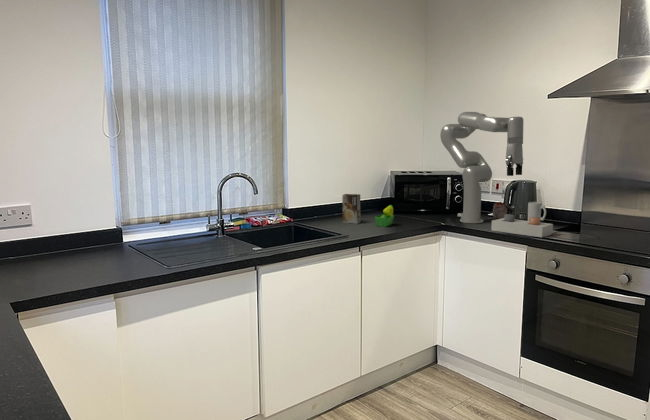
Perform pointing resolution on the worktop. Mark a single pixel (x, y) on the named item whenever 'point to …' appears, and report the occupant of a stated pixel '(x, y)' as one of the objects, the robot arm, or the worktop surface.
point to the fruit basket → (385, 217)
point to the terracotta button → (534, 220)
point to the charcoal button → (509, 218)
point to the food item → (499, 210)
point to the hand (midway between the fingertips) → (514, 175)
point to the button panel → (522, 228)
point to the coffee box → (351, 208)
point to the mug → (536, 210)
